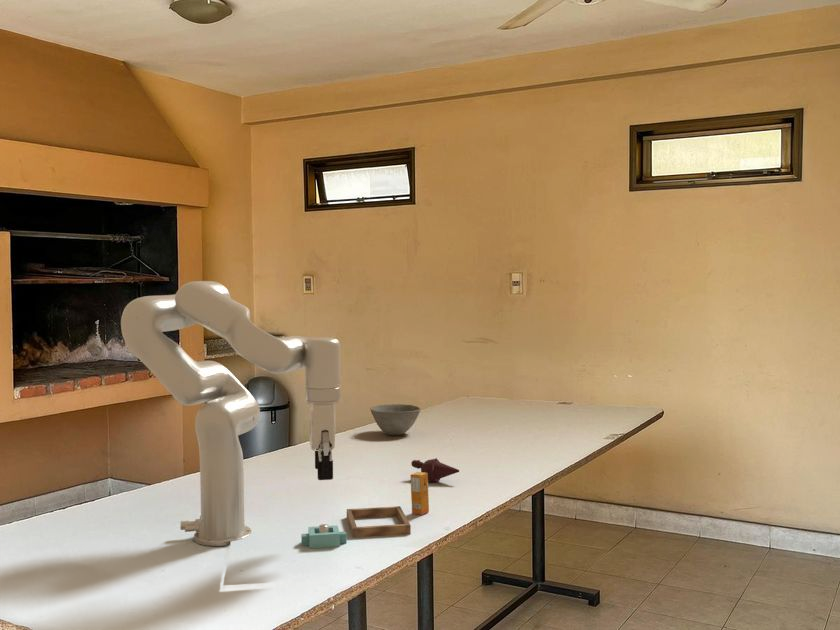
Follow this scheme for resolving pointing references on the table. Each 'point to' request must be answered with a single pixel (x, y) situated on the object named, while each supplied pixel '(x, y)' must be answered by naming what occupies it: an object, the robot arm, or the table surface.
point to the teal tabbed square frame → (323, 537)
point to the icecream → (434, 469)
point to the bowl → (395, 417)
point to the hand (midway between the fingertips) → (323, 473)
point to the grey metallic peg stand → (323, 528)
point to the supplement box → (419, 493)
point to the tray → (378, 530)
